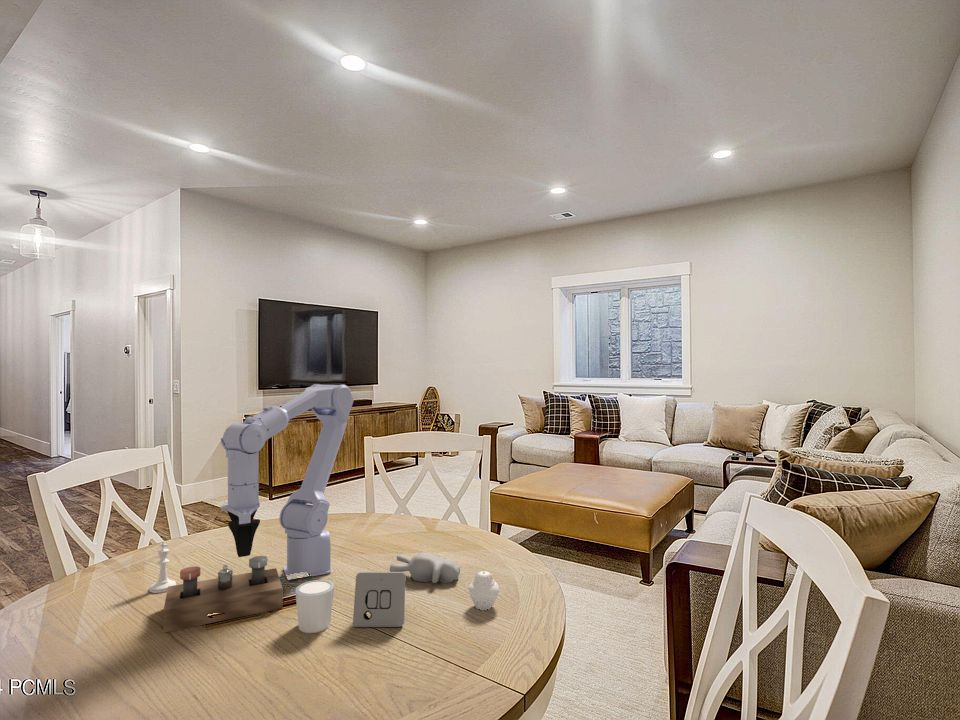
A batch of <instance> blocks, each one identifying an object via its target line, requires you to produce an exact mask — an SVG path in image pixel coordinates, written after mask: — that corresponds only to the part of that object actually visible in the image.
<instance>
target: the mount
mask: <svg viewBox="0 0 960 720" xmlns="http://www.w3.org/2000/svg"><path fill="white" fill-rule="evenodd" d="M283 589H284V588H283V585H282V582H281V579H280V576H279V573H278V569H277V568H270V569H265V584H259V585H254V586H252V571H251V572H247V573H245V572H244V573H240V574H235V575H233V574H232V587H231V588H230V589H227V590H218V577H216V578H210V579H205V580H200V581H199V580H197V596H193V597H188V598H183V583H181V584H176V585H174V586H169V587H168V589H167V591H166V596H165V601H164V605H163V617H162V619H163V621H162V622H163V630H162V631H163V634H165V633H169V632H174V631H179V630H183V629H188V628H193V627H198V626H199V627H200V626H202V625H209V624H212V623H218V622H221V621H222V622H223V621H227V620H232V619H233V620H234V619H238V618H241V617H247V616H251V615H252V616H253V615H257V614H261V613H262V614H263V613H266V612H270V611H276V610H282V609H283V605H284V604H283V595H284V594H283ZM213 613H225V614H224V615H223V614H222V615H220V616H215V617H213V618H209V617H208V616H207V615H208V614H213Z"/></svg>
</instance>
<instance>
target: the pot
mask: <svg viewBox="0 0 960 720" xmlns="http://www.w3.org/2000/svg"><path fill="white" fill-rule="evenodd" d="M232 576H233V569H231V568H228V564H223V565H222V569H220V570H219V571H218V572H217V578H218V590H227V589H230V588H231V587H232Z"/></svg>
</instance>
